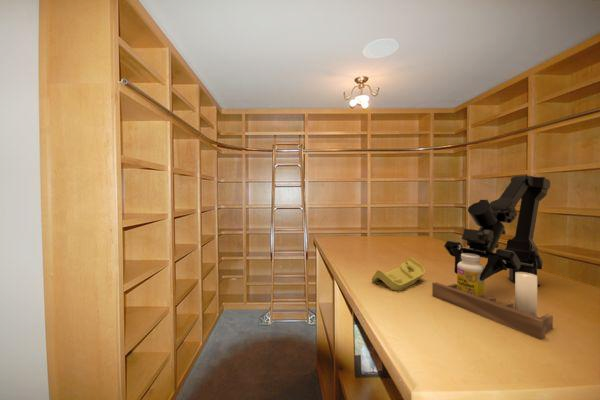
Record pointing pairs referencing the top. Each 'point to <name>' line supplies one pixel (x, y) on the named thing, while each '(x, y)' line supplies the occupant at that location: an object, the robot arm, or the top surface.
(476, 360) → the top surface
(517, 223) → the robot arm
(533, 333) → the walnut holder rail
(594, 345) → the top surface
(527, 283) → the white pillar candle
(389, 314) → the top surface
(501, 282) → the top surface
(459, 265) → the supplement bottle
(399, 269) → the plastic component
